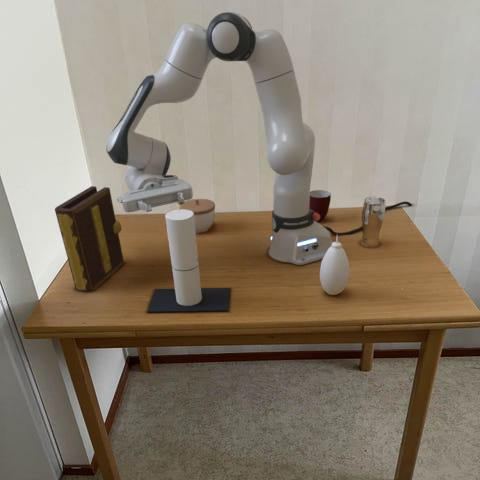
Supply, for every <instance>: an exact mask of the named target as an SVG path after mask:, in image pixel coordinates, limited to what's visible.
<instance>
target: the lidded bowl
mask: <svg viewBox="0 0 480 480" xmlns="http://www.w3.org/2000/svg"><path fill="white" fill-rule="evenodd" d="M179 209H185V210H190V211H192V212H193V213H194V223H195V233H196V234H200V233H205V232H207V231H209V230H210V228H211V227H212V225H213V224H214V222H215V217H216V203H215V202H214V201H213V200H211V199H207V198H206V199H205V198H192V199H190V200H185V201H184V204H181V205H179Z"/></svg>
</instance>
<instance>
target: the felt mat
mask: <svg viewBox="0 0 480 480" xmlns="http://www.w3.org/2000/svg"><path fill="white" fill-rule="evenodd" d="M230 293H231V287H201V294H202V300H201V301H200V302H199V303H197V304H195V305H191V306H184V305H180V304H178V303H177V300H176V293H175V288H155V289H154V291H153V293H152V296H151V300H150V302H149V306H148V308H147V310H146V312H147V314H166V313H167V314H168V313H169V314H170V313H171V314H172V313H223V312H224V313H227V312H229V306H230V305H229V303H230Z"/></svg>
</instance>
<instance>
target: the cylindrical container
mask: <svg viewBox="0 0 480 480" xmlns="http://www.w3.org/2000/svg"><path fill="white" fill-rule="evenodd" d="M164 217H165V224H166V225H165V226H166V231H167V240H168V247H169V254H170V262H171V270H172V276H173V277H172V279H173V283H174V284H173V285H174V289H175V293H176V300H177V303H178V304H180V305H184V306H191V305H195V304H197V303H199V302H200V301H201V300H202V294H201V288H202V287H201V274H200V266H199V255H198V246H197V244H198V243H197V235H196V234H197V233H195V223H194V213H193V212H192V211H190V210H185V209H180V208H179V209H173V210H170V211H168V212H167V213H166V214H165V215H164Z"/></svg>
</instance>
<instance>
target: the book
mask: <svg viewBox="0 0 480 480" xmlns="http://www.w3.org/2000/svg"><path fill="white" fill-rule="evenodd" d="M97 188H98V187H97V186H94V185H92V186H89V187H88V188H86V189H84V190H83V191H81V192H79V193H77V194H76V195H74V196H73V197H71V198H69V199H67V200H66V201H64V202H63V203H60V204H59V205H57V206H56V207H55V208H54V212H55V216H56V220H57V225H58V227H59V232H60V235H61V238H62V243H63V246H64V250H65V255H66V258H67V262H68V265H69V269H70V273H71V276H72V277H71V278H72V281H73V284H74V287H75V290H76V291H78V292H83V293H92V292H94V291H95V290H97V289H98V288H99V287H100V286H101V285H102V284H104V283H105V281H106V280H108V279H109V278H110V277H111V276H113V274H115V272H116V271H118V270H119V269H120V268H121V267H122V266H123V265H124V264H125V261H124V255H123V250H122V245H121V240H120V235H119V233H121V231H122V224H121V222H120V221H119V220H117V219H116V214H115V209H114V204H113V199H112V194H111V189H110V187H107V186H106V187H105V186H104V187H103V188H101V189H99V190H98V189H97Z"/></svg>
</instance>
